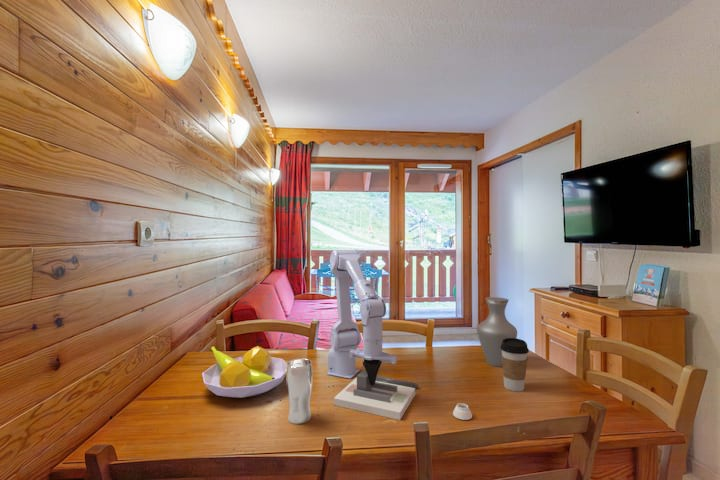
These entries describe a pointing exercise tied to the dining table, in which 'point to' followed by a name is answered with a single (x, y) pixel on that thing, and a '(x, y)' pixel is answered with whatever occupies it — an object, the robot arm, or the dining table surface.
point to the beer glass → (299, 389)
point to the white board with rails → (378, 397)
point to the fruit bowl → (244, 373)
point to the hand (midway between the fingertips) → (372, 383)
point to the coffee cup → (514, 363)
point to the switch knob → (363, 381)
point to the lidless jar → (462, 412)
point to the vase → (495, 330)
